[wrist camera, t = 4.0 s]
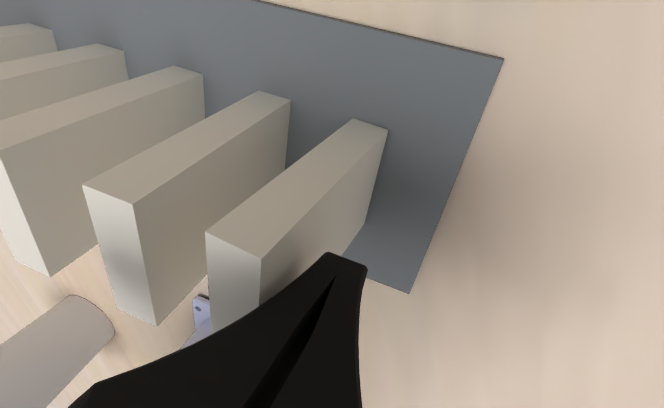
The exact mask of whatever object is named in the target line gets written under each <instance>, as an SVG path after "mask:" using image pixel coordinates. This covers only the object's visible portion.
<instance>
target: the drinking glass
mask: <svg viewBox="0 0 664 408" xmlns="http://www.w3.org/2000/svg"><path fill="white" fill-rule="evenodd" d="M114 332H115V330H114V328H113V325H112V323H111V322H110V320H109V319H108V318H107V316H106V315H105V314H104V313H103V312H102V311H101V310H100V309H99V308H98V307H97V306H95V305H94V304H92V303H91V302H89V301H88V300H86V299H84V298H81V297H79V296H75V295H70V296H68V297H67V298H66V299H64V300H63V301H61V302H60V303H59V304H57V305H56V306H54V307H53V308H52V309H50V310H49V311H47V312H46V313H45V314H43V315H42V316H40V317H39V318H38V319H36V320H35V321H33V322H32V323H31V324H29V325H28V326H26V327H25V328H24V329H22V330H21V331H19V332H18V333H17V334H15V335H14V336H12V337H11V338H9V339H8V340H7V341H5V342H4V343H2V344H1V345H0V408H46V407H47V406H48V405H49V404H50V403H51V402H52V401H53V399H54V398H55V397H56V396H57V395H58V394H59V393H60V392H61V391H62V390H63V389H64V388H65V387H66V386H67V385H68V384H69V383H70V382H71V381H72V380H73V378H74V377H75V376H76V375H77V374H78V373H79V372H80V371H81V370H82V369H83V368H84V367H85V366H86V365H87V364H88V363H89V362H90V361H91V360H92V359H93V357H94V356H95V355H96V354H97V353H98V352H99V351H100V350H101V349H102V348H103V347H104V346H105V345H106V344H107V343H108V342H109V341H110V340H111V339H112V338H113V337H114Z"/></svg>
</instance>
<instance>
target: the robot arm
mask: <svg viewBox="0 0 664 408" xmlns="http://www.w3.org/2000/svg"><path fill="white" fill-rule="evenodd" d="M367 272H368V269H367V267H366V266H365V265H363V264H360V263H357V262H355V261H352V260H349V259H347V258H344V257H342V256H339V255H336V254H334V253H331V252H326V253H324V254H323V255H322V256H321V257H320V258H319V259H318V260H317V261H316V262H315V263H314V264H313V265H311V266H310V267H309V268H308V269H307V270H306V271H305V272H303V273H302V274H301V275H300V276H299V277H298V278H296V279H295V280H294V281H292V282H291V283H290V284H289V285H287V286H286V287H285V288H284V289H282V290H281V291H280V292H278V293H277V294H276V295H274V296H273V297H271V298H270V299H269V300H267V301H266V302H264V303H263V304H261V305H260V306H258V307H257V308H256V309H254V310H252V311H251V312H249V313H248V314H246V315H245V316H243V317H241V318H240V319H238V320H236V321H235V322H233V323H231V324H230V325H228V326H226V327H224V328H223V329H221V330H219V331H217V332H215V333H213V334H211V322H210V306H209V300H208V299H205V298H203V297H201V296H196V297H195V298H194V299H193V300H192V303H193V313H194V323H195V332H194V333H193V334H192V335H191V336H190V338H189V339H188V340H187V341H186V342H185V344H184V345H183V346H182V347H181V348H180V350H178V351H176V352H174V353H172V354H169V355H167V356H165V357H162V358H160V359H158V360H156V361H153V362H151V363H148V364H146V365H143V366H141V367H138V368H135V369H133V370H130V371H127V372H124V373H122V374H119V375H116V376H113V377H111V378H108V379H105V380H102V381H100V382H97V383H95V384H94V385H93V386H91V387H90V388H89V389H88V390H87V391H86V392H85V393H84V394H82V395H81V396H80V397H79V398H77V399H76V400H75V401H74V402H73V403H72V404H71V405H70V406H69V407H68V408H362V400H361V389H360V376H359V347H358V336H359V313H360V302H361V295H362V289H363V285H364V282H365V279H366V275H367Z"/></svg>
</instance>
